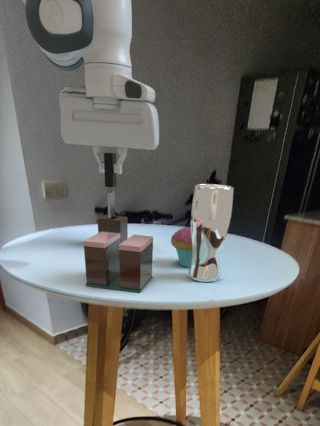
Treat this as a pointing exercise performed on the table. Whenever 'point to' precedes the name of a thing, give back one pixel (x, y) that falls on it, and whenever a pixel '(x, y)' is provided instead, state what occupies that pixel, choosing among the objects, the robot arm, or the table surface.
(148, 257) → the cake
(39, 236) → the table surface
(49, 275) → the table surface
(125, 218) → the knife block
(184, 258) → the cupcake
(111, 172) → the knife
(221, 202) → the beer glass
